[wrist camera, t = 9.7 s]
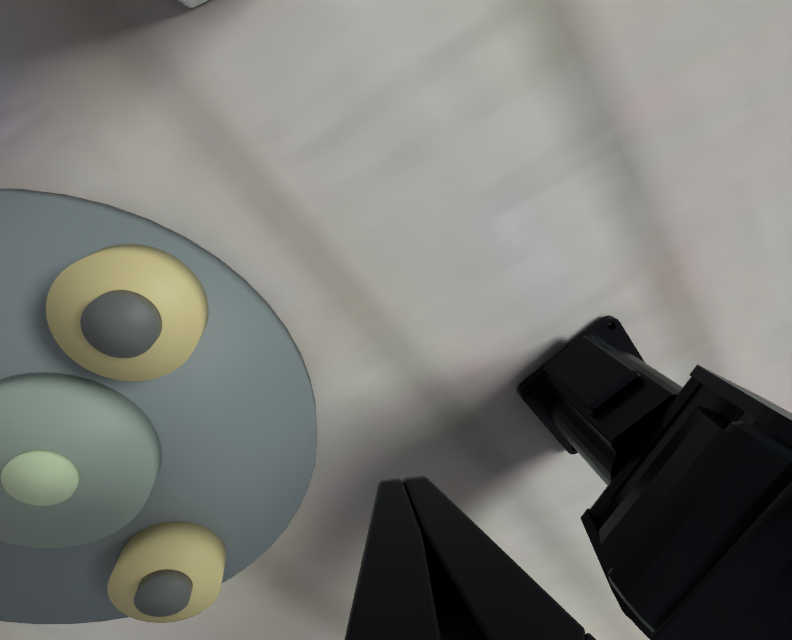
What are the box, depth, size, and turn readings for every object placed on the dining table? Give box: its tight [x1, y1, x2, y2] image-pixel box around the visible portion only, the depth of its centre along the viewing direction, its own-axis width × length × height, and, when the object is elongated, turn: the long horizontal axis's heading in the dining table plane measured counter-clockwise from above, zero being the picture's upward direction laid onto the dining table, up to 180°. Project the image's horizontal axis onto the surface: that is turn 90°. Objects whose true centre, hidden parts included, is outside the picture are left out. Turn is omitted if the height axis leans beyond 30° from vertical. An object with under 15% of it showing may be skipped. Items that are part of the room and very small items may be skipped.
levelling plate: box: [0, 189, 317, 624], centre depth 18 cm, size 22×22×3 cm
